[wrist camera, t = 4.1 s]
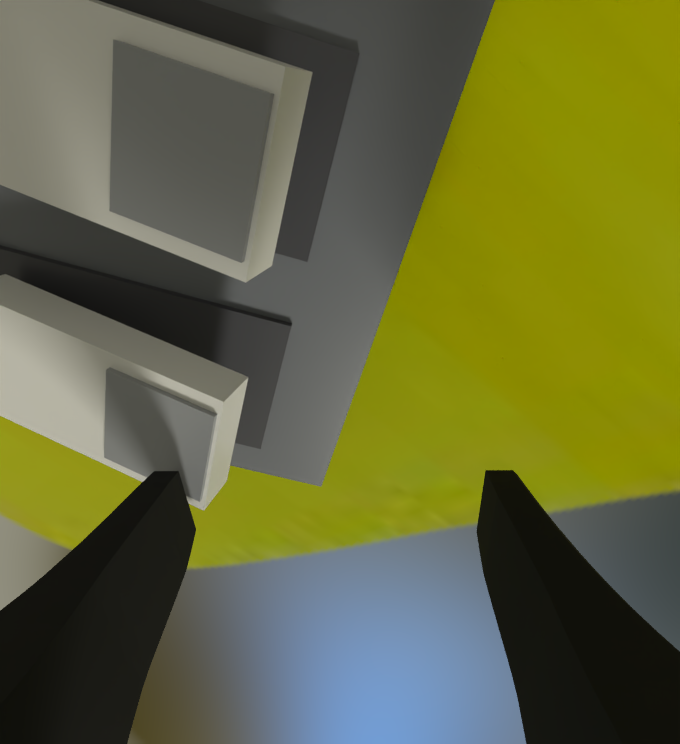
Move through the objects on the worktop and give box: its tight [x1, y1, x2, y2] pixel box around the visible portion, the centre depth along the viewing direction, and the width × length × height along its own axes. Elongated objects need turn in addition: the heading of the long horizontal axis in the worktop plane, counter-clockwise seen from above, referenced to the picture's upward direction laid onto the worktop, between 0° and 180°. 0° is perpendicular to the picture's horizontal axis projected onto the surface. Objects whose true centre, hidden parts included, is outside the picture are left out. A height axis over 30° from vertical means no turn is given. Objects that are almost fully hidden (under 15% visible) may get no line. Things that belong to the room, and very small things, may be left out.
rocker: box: [0, 274, 248, 510], centre depth 13 cm, size 7×4×1 cm, turn 74°
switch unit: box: [0, 0, 495, 486], centre depth 12 cm, size 13×20×3 cm, turn 165°
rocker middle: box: [0, 0, 312, 283], centre depth 9 cm, size 7×4×1 cm, turn 74°
